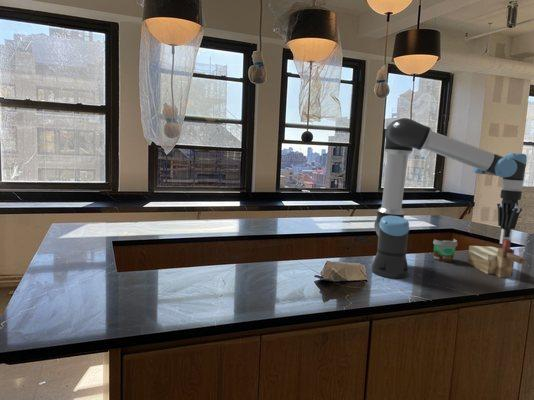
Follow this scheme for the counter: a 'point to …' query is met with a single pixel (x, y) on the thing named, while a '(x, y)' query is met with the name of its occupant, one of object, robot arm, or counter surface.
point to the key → (510, 255)
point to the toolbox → (493, 264)
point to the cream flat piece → (485, 252)
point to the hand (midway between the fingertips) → (503, 243)
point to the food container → (444, 250)
